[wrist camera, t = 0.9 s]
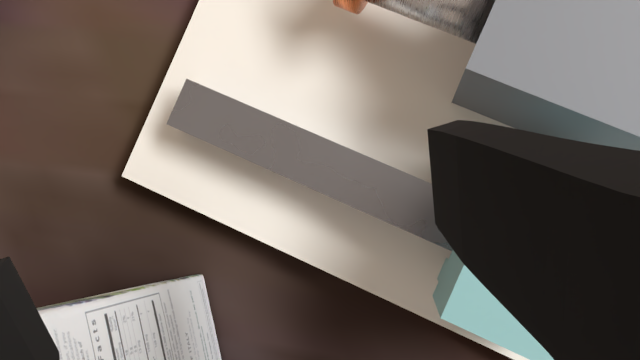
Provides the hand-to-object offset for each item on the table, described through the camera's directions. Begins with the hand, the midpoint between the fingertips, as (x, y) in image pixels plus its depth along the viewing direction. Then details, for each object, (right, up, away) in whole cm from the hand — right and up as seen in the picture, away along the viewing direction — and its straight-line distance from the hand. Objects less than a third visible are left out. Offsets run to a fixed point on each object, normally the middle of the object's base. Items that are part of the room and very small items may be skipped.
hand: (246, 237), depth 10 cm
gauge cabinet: (+10, +5, +12) cm, 16 cm away
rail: (+4, +1, +13) cm, 13 cm away
